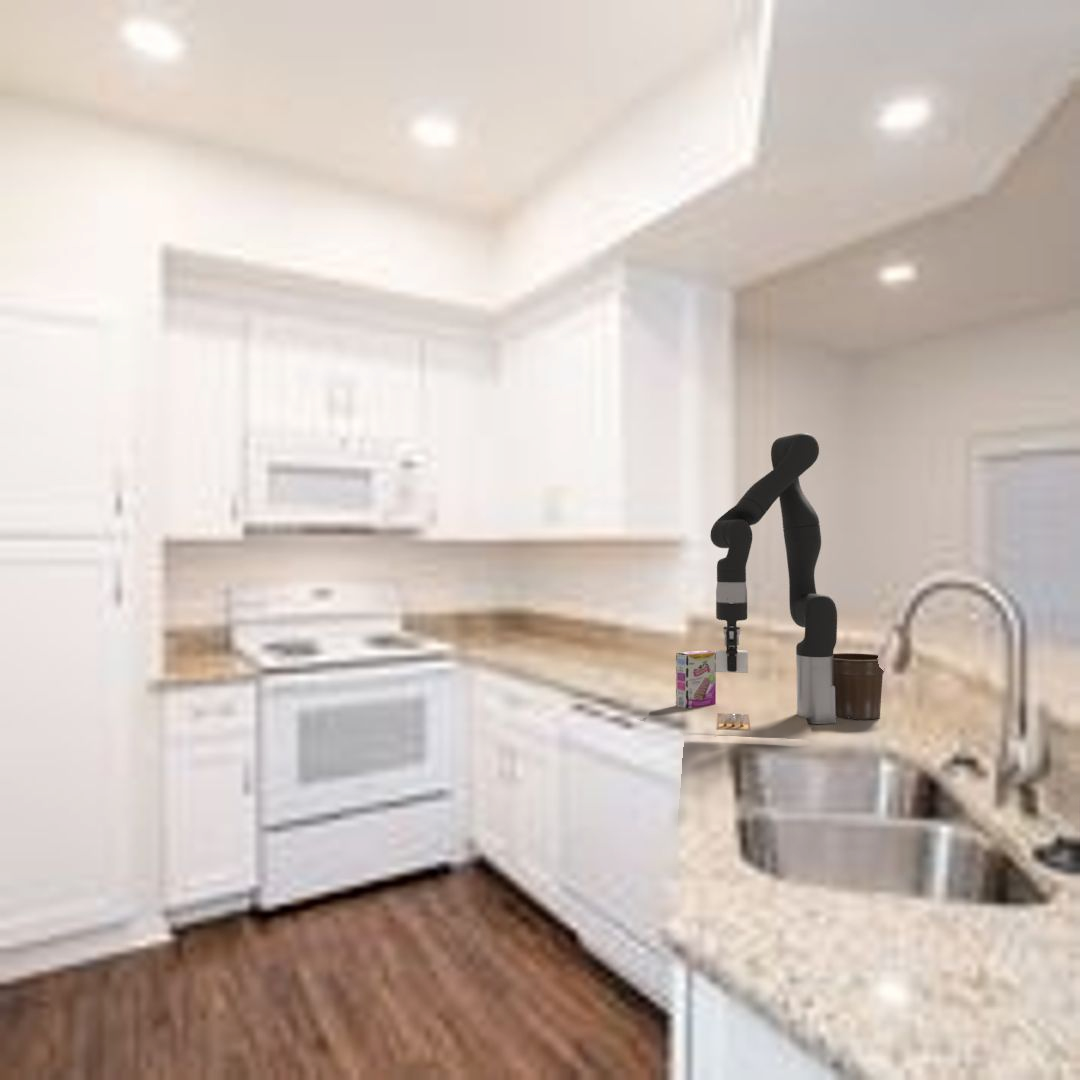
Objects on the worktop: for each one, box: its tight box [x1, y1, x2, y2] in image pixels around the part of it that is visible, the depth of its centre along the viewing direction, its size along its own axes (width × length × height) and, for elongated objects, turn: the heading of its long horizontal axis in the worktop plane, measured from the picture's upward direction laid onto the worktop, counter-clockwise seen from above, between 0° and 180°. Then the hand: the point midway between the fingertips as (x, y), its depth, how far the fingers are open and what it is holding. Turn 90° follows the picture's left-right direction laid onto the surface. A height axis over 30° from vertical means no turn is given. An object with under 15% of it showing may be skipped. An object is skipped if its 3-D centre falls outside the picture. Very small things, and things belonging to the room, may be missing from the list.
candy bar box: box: [675, 650, 717, 709], centre depth 226 cm, size 11×5×16 cm, turn 122°
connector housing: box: [715, 649, 749, 674], centre depth 198 cm, size 8×4×5 cm, turn 76°
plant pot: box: [833, 652, 885, 721], centre depth 217 cm, size 16×16×16 cm
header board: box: [716, 712, 752, 732], centre depth 203 cm, size 8×20×2 cm, turn 167°
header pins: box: [723, 713, 745, 727], centre depth 198 cm, size 5×1×3 cm, turn 77°
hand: (732, 669), depth 198 cm, fingers closed on connector housing, 4 cm apart
